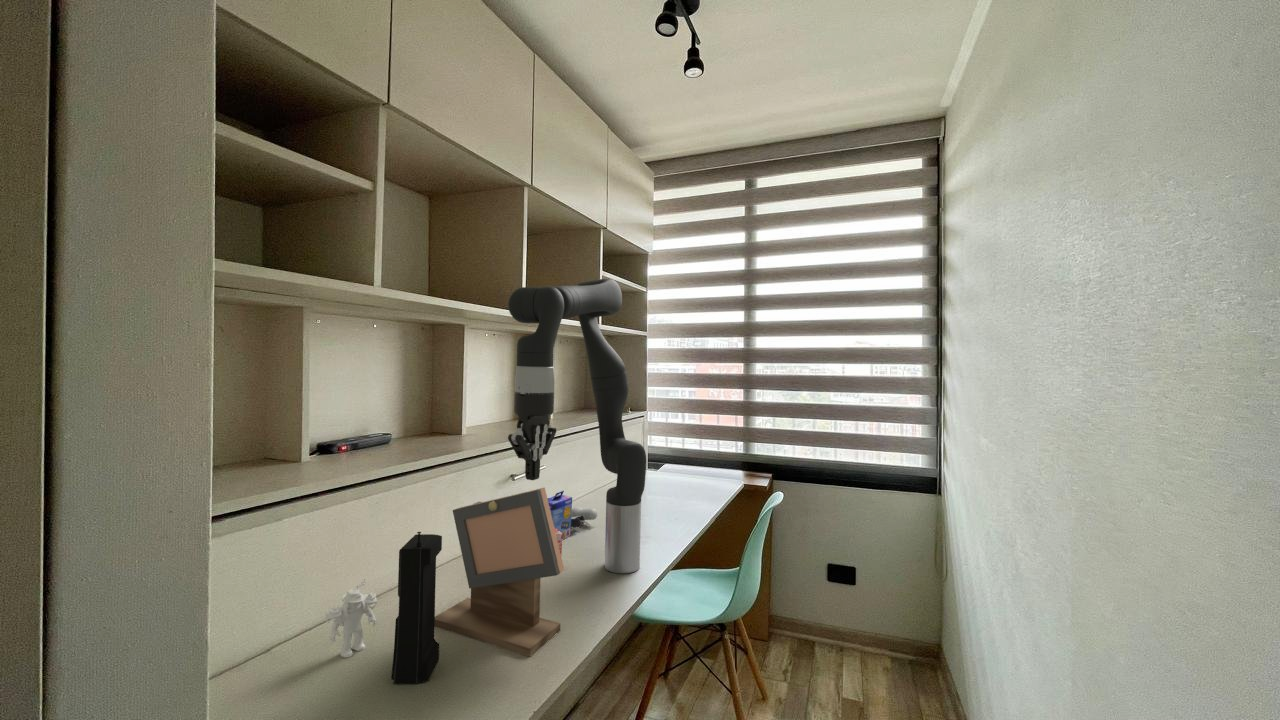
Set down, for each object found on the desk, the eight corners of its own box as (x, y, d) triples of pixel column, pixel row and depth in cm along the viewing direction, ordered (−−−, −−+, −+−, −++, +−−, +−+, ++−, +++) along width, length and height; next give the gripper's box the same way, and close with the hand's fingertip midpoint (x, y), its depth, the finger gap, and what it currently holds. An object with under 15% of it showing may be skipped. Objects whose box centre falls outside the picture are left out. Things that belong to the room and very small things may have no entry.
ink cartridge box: (551, 546, 148) (552, 496, 148) (536, 542, 151) (537, 493, 151) (572, 536, 157) (573, 488, 157) (557, 532, 160) (558, 486, 160)
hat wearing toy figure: (370, 636, 99) (371, 574, 99) (381, 643, 97) (383, 579, 97) (320, 659, 91) (322, 591, 91) (331, 666, 89) (333, 597, 89)
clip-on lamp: (539, 532, 168) (578, 532, 158) (535, 513, 169) (574, 511, 158) (564, 520, 178) (603, 519, 168) (560, 502, 178) (598, 500, 168)
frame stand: (467, 604, 112) (470, 497, 112) (560, 630, 103) (563, 513, 103) (431, 625, 103) (434, 509, 103) (529, 656, 93) (533, 528, 93)
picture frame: (477, 583, 106) (461, 507, 108) (564, 570, 98) (544, 487, 100) (467, 589, 104) (450, 510, 105) (555, 576, 95) (535, 490, 97)
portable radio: (406, 657, 92) (410, 518, 92) (441, 656, 93) (444, 518, 93) (389, 685, 85) (392, 533, 84) (426, 684, 85) (430, 533, 85)
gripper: (538, 387, 107) (536, 470, 107) (496, 390, 95) (494, 484, 95) (569, 389, 104) (567, 474, 104) (529, 392, 92) (527, 489, 92)
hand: (532, 479), depth 100 cm, fingers closed
